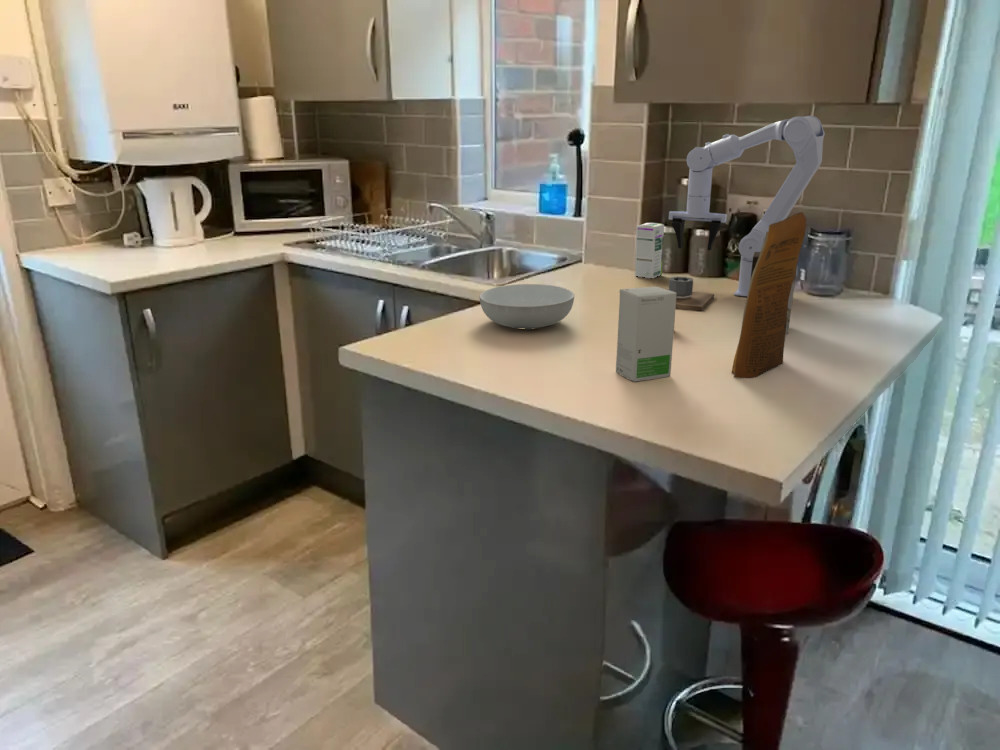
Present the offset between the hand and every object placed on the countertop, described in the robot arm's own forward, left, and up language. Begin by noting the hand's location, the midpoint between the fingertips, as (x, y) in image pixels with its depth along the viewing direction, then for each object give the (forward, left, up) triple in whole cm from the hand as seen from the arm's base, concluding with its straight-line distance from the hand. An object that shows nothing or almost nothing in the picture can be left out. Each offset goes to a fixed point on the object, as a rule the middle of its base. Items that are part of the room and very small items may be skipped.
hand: (694, 248), depth 205 cm
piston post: (-1, +18, -10) cm, 21 cm away
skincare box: (-8, +74, -10) cm, 75 cm away
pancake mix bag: (-27, +62, -10) cm, 68 cm away
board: (-1, +18, -10) cm, 21 cm away
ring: (-1, +18, -8) cm, 20 cm away
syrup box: (+14, -7, -10) cm, 19 cm away
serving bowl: (+25, +52, -10) cm, 59 cm away
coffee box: (-24, +34, -10) cm, 43 cm away
